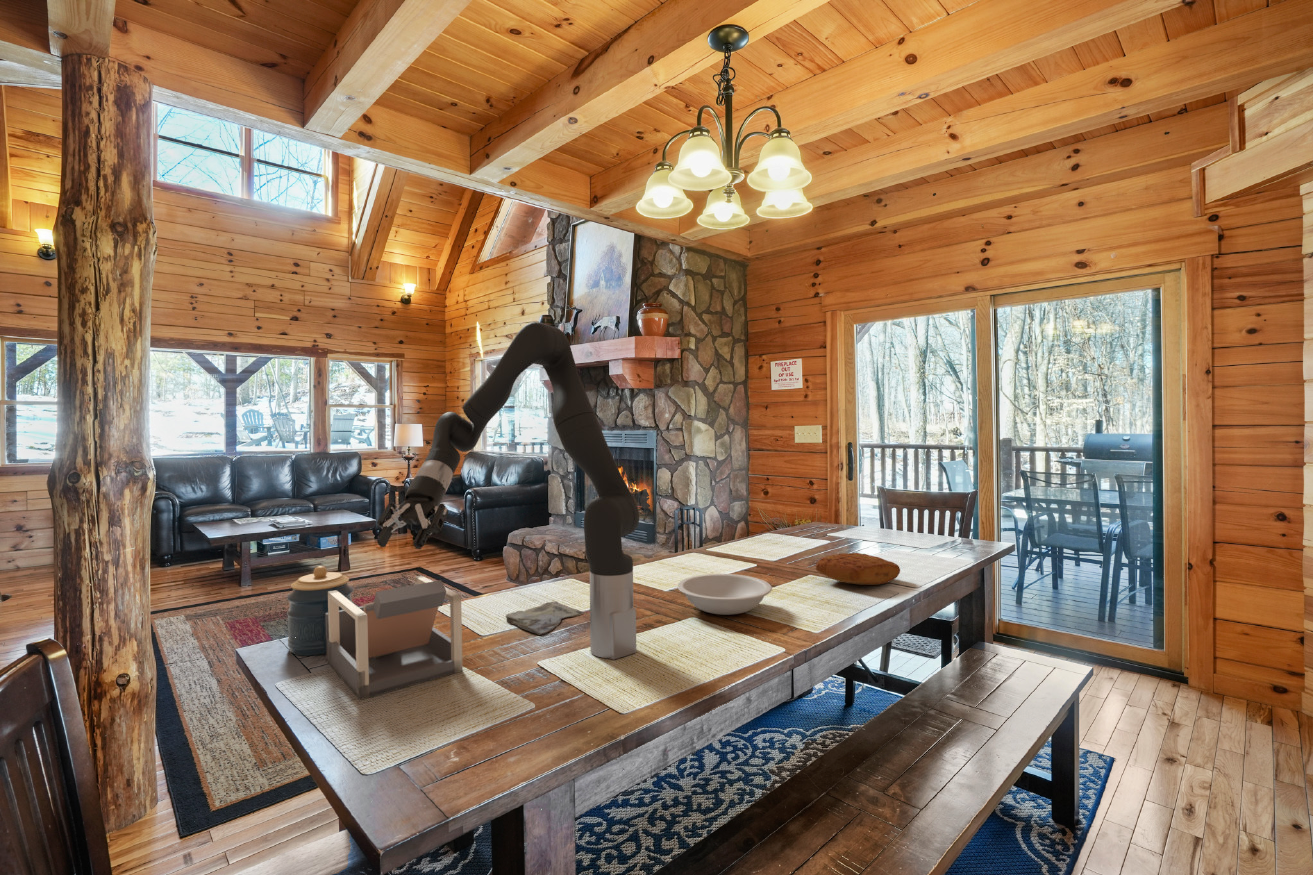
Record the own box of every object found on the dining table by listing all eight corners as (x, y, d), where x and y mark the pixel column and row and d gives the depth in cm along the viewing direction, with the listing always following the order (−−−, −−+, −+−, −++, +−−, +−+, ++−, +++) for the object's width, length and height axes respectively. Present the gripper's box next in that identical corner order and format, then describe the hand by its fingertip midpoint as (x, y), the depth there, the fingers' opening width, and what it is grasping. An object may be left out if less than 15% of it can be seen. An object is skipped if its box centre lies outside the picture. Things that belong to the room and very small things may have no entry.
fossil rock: (550, 607, 166) (550, 598, 166) (592, 618, 157) (592, 608, 157) (497, 625, 152) (497, 615, 152) (540, 638, 143) (540, 627, 143)
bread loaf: (857, 596, 173) (857, 567, 172) (810, 582, 187) (810, 556, 187) (905, 583, 185) (905, 556, 185) (858, 572, 199) (858, 547, 199)
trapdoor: (360, 673, 119) (354, 656, 122) (433, 654, 128) (426, 639, 131) (374, 604, 111) (368, 588, 113) (451, 590, 120) (444, 575, 123)
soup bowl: (791, 614, 157) (792, 588, 157) (718, 633, 144) (718, 605, 144) (729, 592, 177) (729, 569, 177) (659, 607, 164) (659, 582, 163)
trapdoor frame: (462, 670, 123) (461, 595, 123) (359, 699, 111) (357, 616, 110) (419, 639, 141) (417, 573, 141) (326, 661, 129) (324, 589, 128)
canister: (343, 631, 147) (341, 556, 146) (363, 645, 138) (361, 566, 137) (280, 645, 138) (278, 566, 137) (297, 662, 128) (295, 576, 128)
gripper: (394, 473, 139) (359, 534, 129) (451, 474, 136) (420, 537, 125) (409, 494, 145) (377, 554, 134) (465, 496, 141) (436, 557, 131)
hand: (398, 546), depth 130 cm, fingers open, 8 cm apart
